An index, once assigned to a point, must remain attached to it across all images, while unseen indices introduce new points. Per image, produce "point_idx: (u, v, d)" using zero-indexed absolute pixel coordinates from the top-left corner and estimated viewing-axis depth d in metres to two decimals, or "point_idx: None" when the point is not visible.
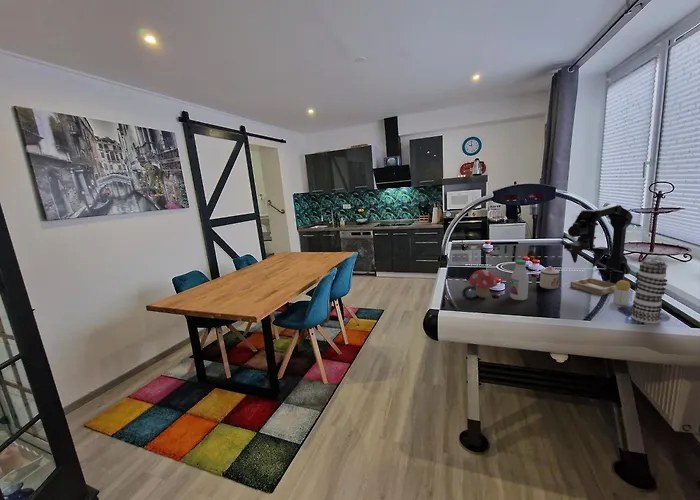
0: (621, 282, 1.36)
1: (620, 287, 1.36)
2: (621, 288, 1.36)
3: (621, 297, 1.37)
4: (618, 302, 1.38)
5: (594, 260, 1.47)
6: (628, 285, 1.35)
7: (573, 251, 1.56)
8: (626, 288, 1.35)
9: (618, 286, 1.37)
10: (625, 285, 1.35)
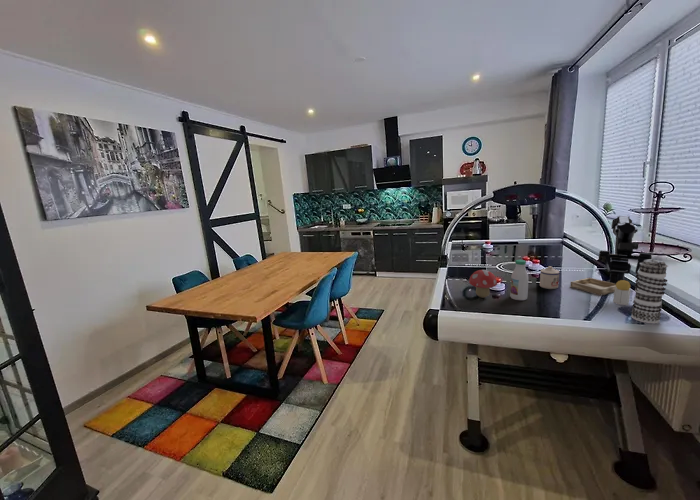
0: (621, 282, 1.36)
1: (620, 287, 1.36)
2: (621, 288, 1.36)
3: (621, 297, 1.37)
4: (618, 302, 1.38)
5: (638, 265, 1.39)
6: (628, 285, 1.35)
7: None
8: (626, 288, 1.35)
9: (618, 286, 1.37)
10: (625, 285, 1.35)
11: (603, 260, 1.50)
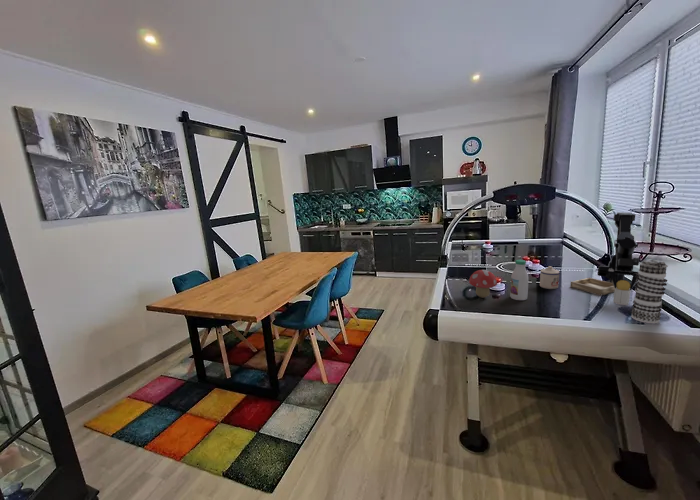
0: (621, 282, 1.36)
1: (620, 287, 1.36)
2: (621, 288, 1.36)
3: (621, 297, 1.37)
4: (618, 302, 1.38)
5: (633, 282, 1.35)
6: (628, 285, 1.35)
7: (615, 274, 1.40)
8: (626, 288, 1.35)
9: (618, 286, 1.37)
10: (625, 285, 1.35)
11: (607, 276, 1.44)
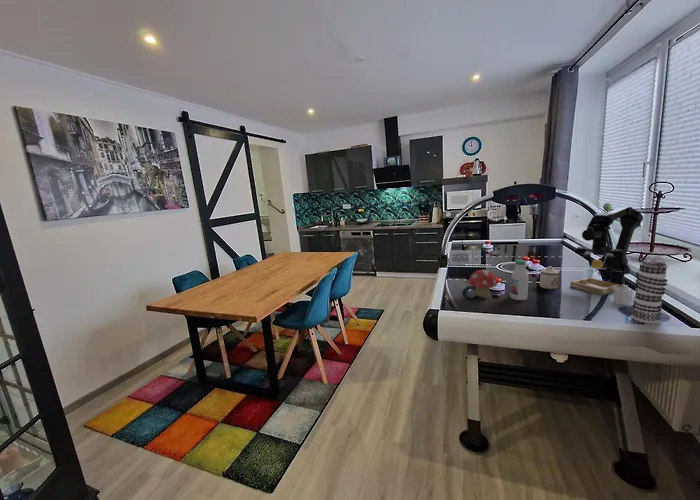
0: (595, 264, 1.54)
1: (594, 267, 1.56)
2: (595, 268, 1.56)
3: (621, 297, 1.37)
4: (618, 302, 1.38)
5: (606, 262, 1.52)
6: (601, 266, 1.54)
7: (590, 256, 1.56)
8: (599, 268, 1.55)
9: (592, 266, 1.56)
10: (598, 267, 1.54)
11: None
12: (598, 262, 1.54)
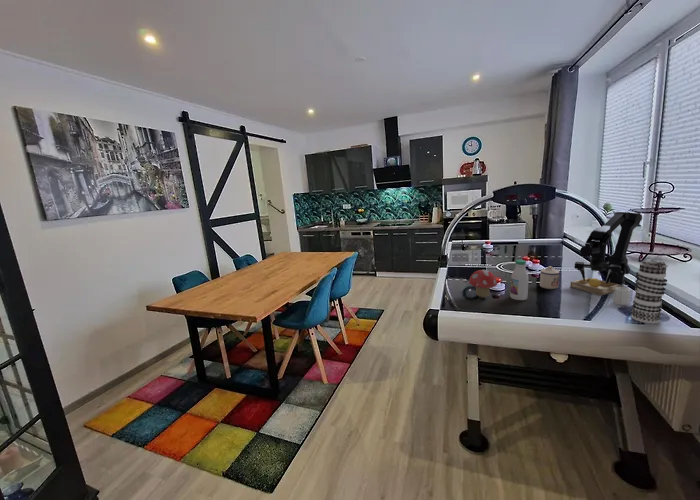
0: (592, 283, 1.57)
1: (592, 286, 1.58)
2: None
3: (621, 297, 1.37)
4: (618, 302, 1.38)
5: (608, 278, 1.53)
6: (598, 285, 1.56)
7: (584, 270, 1.59)
8: None
9: (590, 285, 1.59)
10: (595, 286, 1.56)
11: None
12: (595, 281, 1.56)
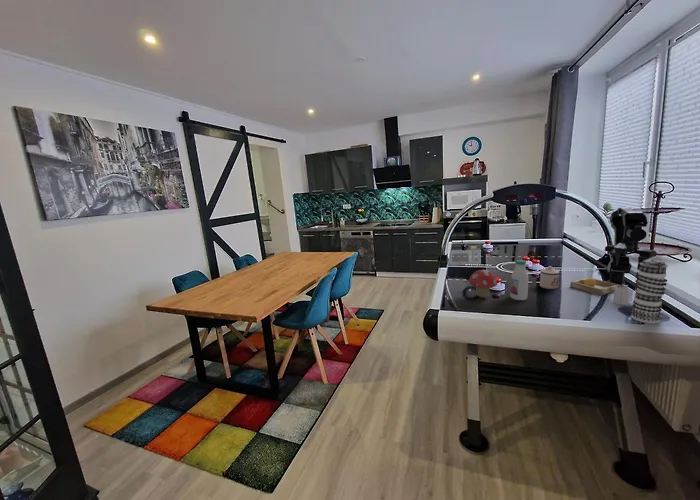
0: (588, 284, 1.58)
1: (591, 286, 1.58)
2: (592, 286, 1.58)
3: (621, 297, 1.37)
4: (618, 302, 1.38)
5: None
6: (594, 282, 1.57)
7: (615, 254, 1.52)
8: (595, 284, 1.57)
9: None
10: (592, 284, 1.57)
11: None
12: (588, 281, 1.58)
